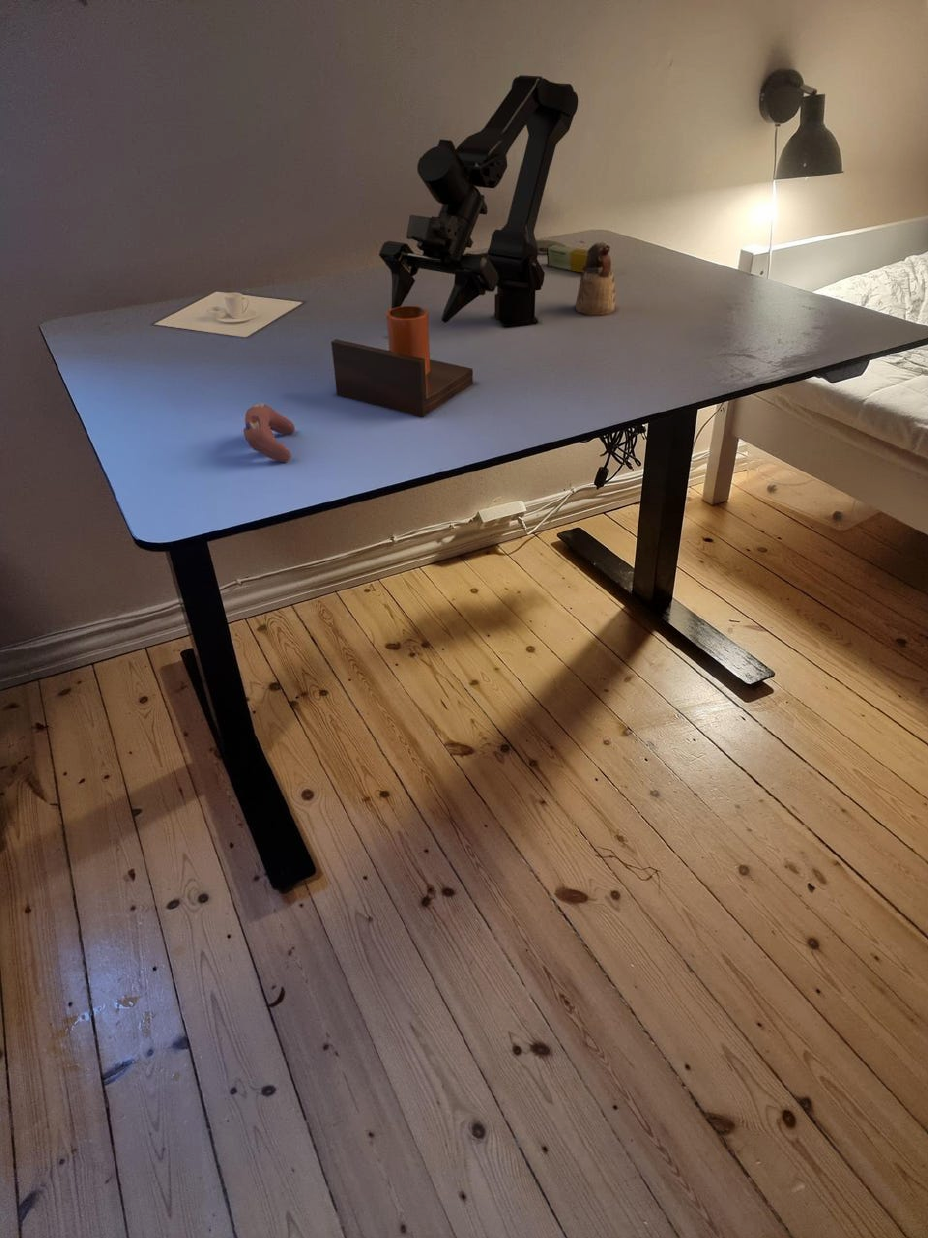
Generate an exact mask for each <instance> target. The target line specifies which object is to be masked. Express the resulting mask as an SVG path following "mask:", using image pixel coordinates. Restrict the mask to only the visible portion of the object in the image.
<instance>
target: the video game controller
mask: <svg viewBox="0 0 928 1238" xmlns="http://www.w3.org/2000/svg"><path fill="white" fill-rule="evenodd" d="M245 412H246V413H245V417H244V423H245V424H244V425H245V427H244V428H243V435H244V438H245V440H246V442H247V443H248V445H249V446H250V447H251V449H253V450H254V451H256V452H259V453H260V454H262V455H263V456H264V457H267V458H268V459H270V460H273V461H275V462H280V463H287V462H289V461H290V460H291V455H292V454H291V451H290V450H289V449H288V447H286V446H285V445H284V444H282V443H280V442H279V441H277V440H276V438H275V435H274V432H275V433H277V434H281V435H292V434H293V433H294V432H295V430H296V429H295V424H294V423H293V422H292V421H291V420H290V419H289V418H288V417H286V416H285V415H283V414H281V413H278V412H277V411H275V410H274V409H273V408H272V407H270V406H269V405H267V404H264V402H261V403H260V404H254V406H251V407H249V408H248V409H247V410H246V411H245Z"/></svg>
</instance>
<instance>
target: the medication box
mask: <svg viewBox="0 0 928 1238" xmlns="http://www.w3.org/2000/svg"><path fill="white" fill-rule="evenodd" d="M588 250H589V249H584V248H578V247H574V246H567V245H562V244H557V243H552V244H550V245H549V246H547V247H546V256H547V267H554V268H559V269H564V270H568V271H573V272H578V273H581V274H582V273H583V272H584V271H583V270H582V267H583V266H585V263H586V259H587V255H588Z"/></svg>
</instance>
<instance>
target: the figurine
mask: <svg viewBox="0 0 928 1238" xmlns="http://www.w3.org/2000/svg"><path fill="white" fill-rule="evenodd" d="M587 250H588V255H587V259H586V263H585V266H583V267H582V270H583V271H584V272H583V273H582V272H581V275H580V279H579V286H578V292H577V297H576V303H575V307H576V311H577V312H578V313H580V314H583V315H587V316H606V315H610V314H612V313H614V311H615V308H616V285H615V276H614V272H613V270H612V268H611V265H612V264H611V263H612V261H611V256H610V255H609V253H610V250H611V247H610V245H608V244H607V243H606V242H604V241H600V242H599V241H597V242H595V244H593V245H591V246H590V247H589V249H587Z"/></svg>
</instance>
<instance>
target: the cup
mask: <svg viewBox="0 0 928 1238" xmlns="http://www.w3.org/2000/svg"><path fill="white" fill-rule="evenodd" d="M429 323H430V322H429V311H428V309H426V308H425V307H421V306H415V305H402V306H401V307H396V308H393V309H391V308H390V309H389V310H388V311H386V326H387V340H388V350H389V351H391V352H396V353H400V354H405V355H409V356H414V357H418V358H423V359H425V374H426V375H427V374H428V373H429V372H430V359H431V350H430V349H431V348H430V326H429V325H430V324H429Z"/></svg>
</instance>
